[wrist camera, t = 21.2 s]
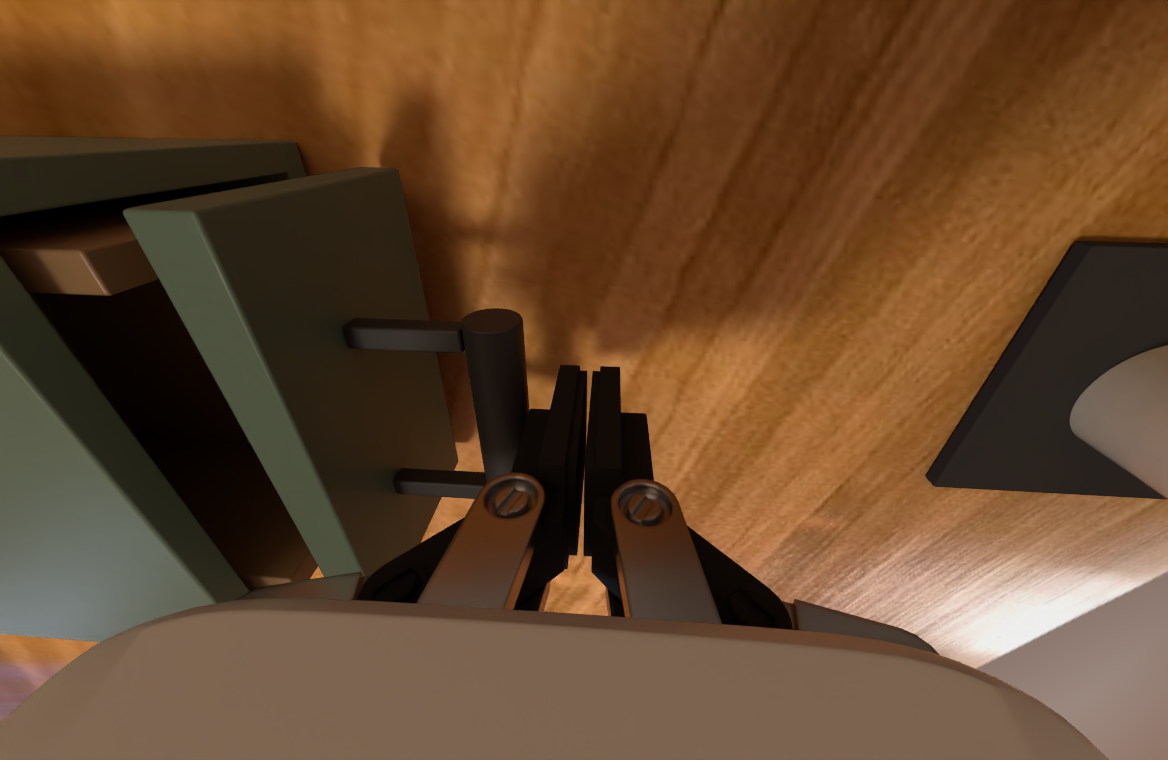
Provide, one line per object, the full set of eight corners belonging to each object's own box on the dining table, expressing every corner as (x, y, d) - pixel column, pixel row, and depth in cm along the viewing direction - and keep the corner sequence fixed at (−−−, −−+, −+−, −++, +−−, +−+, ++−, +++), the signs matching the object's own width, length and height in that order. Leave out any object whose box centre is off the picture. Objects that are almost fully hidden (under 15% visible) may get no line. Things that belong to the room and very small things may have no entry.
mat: (1074, 240, 12) (1094, 245, 12) (1435, 250, 12) (1471, 255, 11) (924, 476, 18) (933, 487, 17) (1170, 489, 17) (1186, 501, 17)
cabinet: (296, 140, 12) (-156, 166, 5) (394, 453, 19) (259, 655, 12) (-143, 133, 13) (-1090, 146, 6) (100, 436, 20) (-198, 619, 13)
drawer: (544, 170, 12) (474, 218, 6) (555, 466, 18) (525, 632, 12) (-35, 158, 12) (-595, 190, 7) (165, 444, 18) (-37, 589, 13)
